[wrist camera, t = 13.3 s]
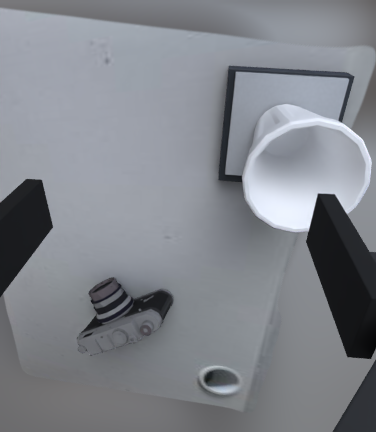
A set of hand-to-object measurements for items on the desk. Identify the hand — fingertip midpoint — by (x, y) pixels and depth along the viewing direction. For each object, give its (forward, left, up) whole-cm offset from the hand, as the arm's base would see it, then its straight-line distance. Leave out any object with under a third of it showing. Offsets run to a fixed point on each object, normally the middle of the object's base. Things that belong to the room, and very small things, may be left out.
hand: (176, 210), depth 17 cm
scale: (+8, +6, -28) cm, 29 cm away
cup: (+7, +6, -25) cm, 26 cm away
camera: (+23, -27, -28) cm, 45 cm away
